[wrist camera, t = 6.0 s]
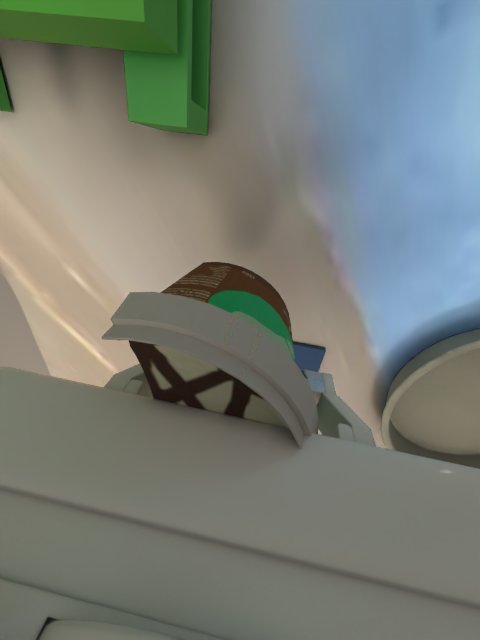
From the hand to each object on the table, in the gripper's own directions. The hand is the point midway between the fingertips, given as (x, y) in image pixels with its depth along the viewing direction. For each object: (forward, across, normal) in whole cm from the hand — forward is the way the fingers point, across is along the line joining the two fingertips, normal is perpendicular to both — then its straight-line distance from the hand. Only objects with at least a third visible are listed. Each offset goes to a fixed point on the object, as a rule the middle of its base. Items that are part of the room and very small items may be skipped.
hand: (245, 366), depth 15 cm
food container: (+5, 0, 0) cm, 5 cm away
